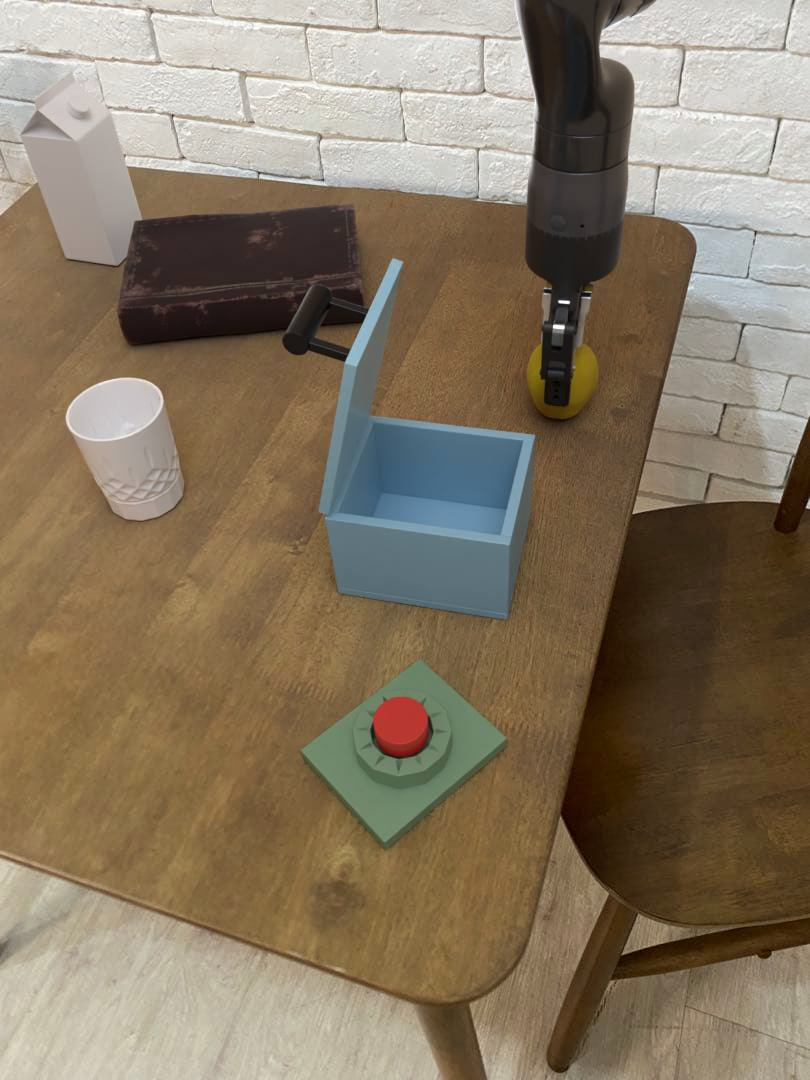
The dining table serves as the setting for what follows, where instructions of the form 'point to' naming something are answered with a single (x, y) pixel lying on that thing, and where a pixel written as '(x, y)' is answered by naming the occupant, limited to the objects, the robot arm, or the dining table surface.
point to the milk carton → (81, 173)
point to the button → (401, 726)
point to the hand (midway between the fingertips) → (561, 378)
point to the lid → (346, 366)
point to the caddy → (433, 516)
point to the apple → (580, 383)
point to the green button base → (403, 782)
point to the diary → (236, 271)
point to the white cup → (128, 446)
